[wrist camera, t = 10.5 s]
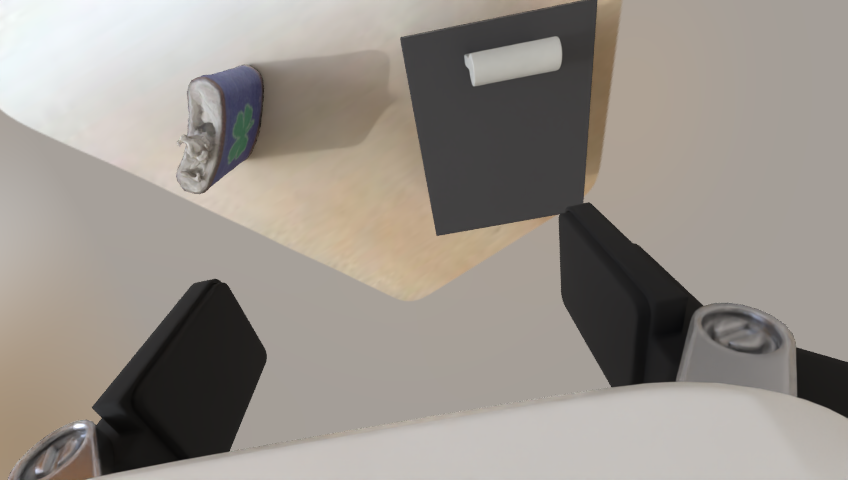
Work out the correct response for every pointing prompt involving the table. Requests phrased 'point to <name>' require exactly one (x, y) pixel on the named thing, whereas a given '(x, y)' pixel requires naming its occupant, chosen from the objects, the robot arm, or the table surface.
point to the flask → (220, 125)
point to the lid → (503, 114)
